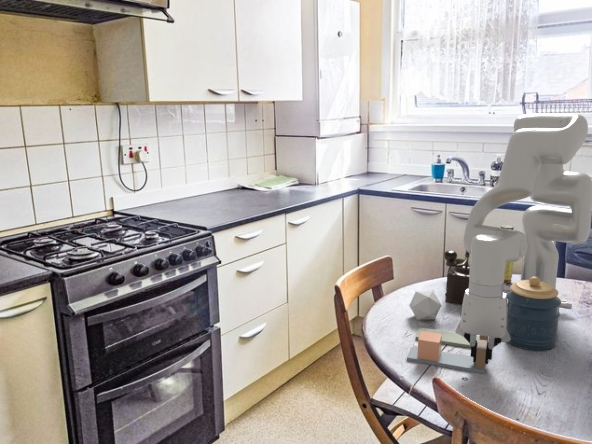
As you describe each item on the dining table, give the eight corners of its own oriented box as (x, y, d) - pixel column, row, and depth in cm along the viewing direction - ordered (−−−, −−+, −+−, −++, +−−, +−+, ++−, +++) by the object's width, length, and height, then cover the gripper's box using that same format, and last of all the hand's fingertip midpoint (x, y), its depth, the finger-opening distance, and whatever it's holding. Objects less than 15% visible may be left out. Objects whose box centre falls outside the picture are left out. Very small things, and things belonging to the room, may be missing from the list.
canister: (553, 332, 141) (559, 271, 137) (560, 354, 129) (567, 288, 125) (502, 326, 145) (506, 266, 141) (503, 347, 133) (509, 282, 129)
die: (434, 328, 146) (450, 298, 147) (407, 313, 147) (423, 283, 148) (426, 326, 154) (441, 298, 156) (401, 311, 155) (416, 283, 156)
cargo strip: (485, 361, 126) (487, 339, 125) (484, 373, 121) (485, 350, 120) (411, 349, 133) (412, 328, 132) (406, 360, 128) (407, 338, 127)
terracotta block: (441, 352, 130) (442, 334, 129) (438, 361, 125) (439, 342, 124) (420, 349, 132) (421, 330, 131) (417, 358, 127) (418, 339, 126)
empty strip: (488, 340, 137) (489, 320, 136) (487, 350, 132) (488, 329, 130) (419, 330, 144) (420, 310, 143) (415, 339, 139) (416, 319, 137)
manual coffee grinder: (448, 291, 172) (450, 238, 168) (483, 295, 168) (486, 242, 163) (439, 308, 158) (442, 251, 154) (477, 313, 154) (481, 255, 150)
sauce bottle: (489, 278, 182) (492, 223, 178) (506, 277, 183) (510, 223, 178) (497, 285, 176) (501, 228, 171) (515, 284, 176) (520, 227, 172)
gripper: (523, 286, 120) (517, 359, 124) (451, 278, 126) (448, 348, 130) (523, 298, 113) (516, 374, 117) (448, 289, 119) (444, 362, 123)
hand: (480, 360), depth 124 cm, fingers closed on cargo strip, 2 cm apart
